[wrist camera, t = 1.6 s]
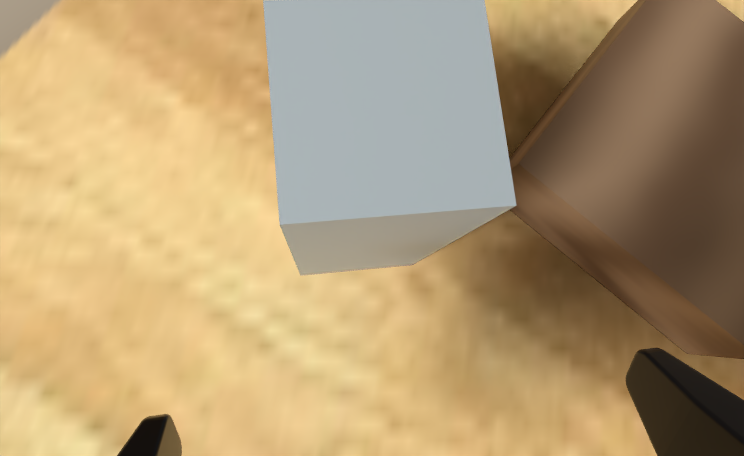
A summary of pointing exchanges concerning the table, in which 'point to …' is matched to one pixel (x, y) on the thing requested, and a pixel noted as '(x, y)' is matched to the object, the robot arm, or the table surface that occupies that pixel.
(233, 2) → the table surface
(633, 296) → the walnut block
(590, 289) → the table surface
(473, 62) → the slate pillar
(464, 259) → the table surface
